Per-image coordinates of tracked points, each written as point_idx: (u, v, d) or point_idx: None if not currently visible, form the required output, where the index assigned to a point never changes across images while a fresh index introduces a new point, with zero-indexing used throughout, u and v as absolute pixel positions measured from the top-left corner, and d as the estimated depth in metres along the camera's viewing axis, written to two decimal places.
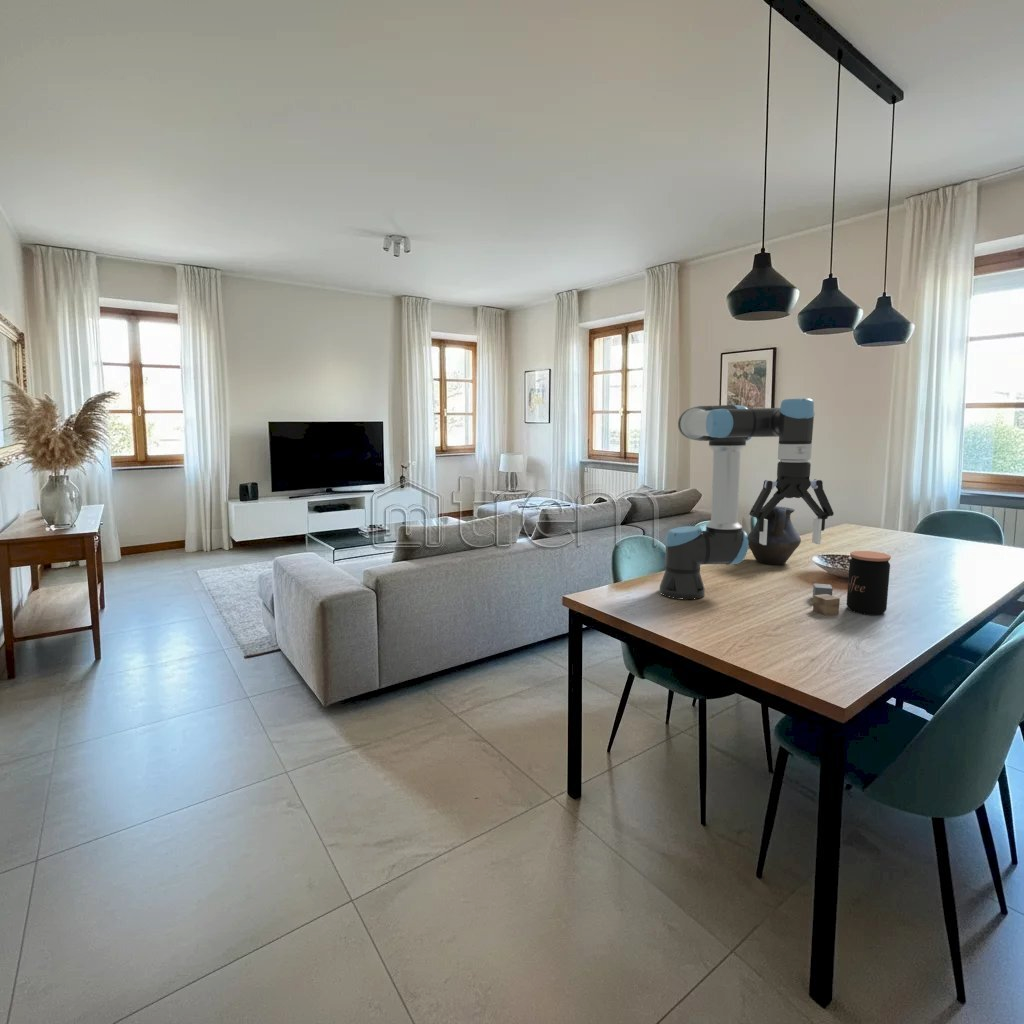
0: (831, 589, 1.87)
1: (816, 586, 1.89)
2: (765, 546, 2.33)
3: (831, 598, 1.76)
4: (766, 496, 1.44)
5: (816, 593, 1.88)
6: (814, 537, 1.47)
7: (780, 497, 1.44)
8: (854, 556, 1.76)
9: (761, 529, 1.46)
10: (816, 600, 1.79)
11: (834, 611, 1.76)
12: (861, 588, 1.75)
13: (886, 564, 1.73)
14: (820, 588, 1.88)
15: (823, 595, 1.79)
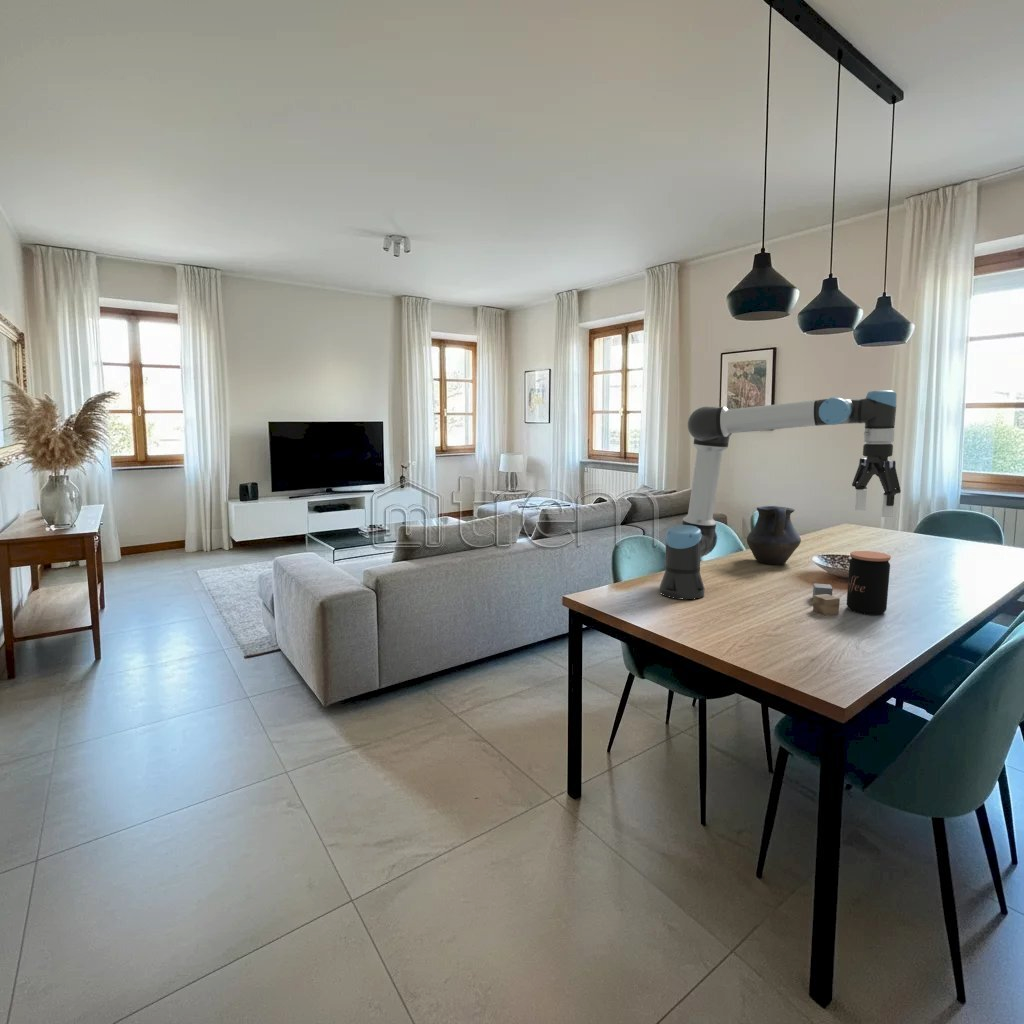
0: (831, 589, 1.87)
1: (816, 586, 1.89)
2: (765, 546, 2.33)
3: (831, 598, 1.76)
4: (858, 470, 1.79)
5: (816, 593, 1.88)
6: None
7: (863, 472, 1.76)
8: (854, 556, 1.76)
9: None
10: (816, 600, 1.79)
11: (834, 611, 1.76)
12: (862, 588, 1.75)
13: (886, 564, 1.73)
14: (820, 588, 1.88)
15: (823, 595, 1.79)
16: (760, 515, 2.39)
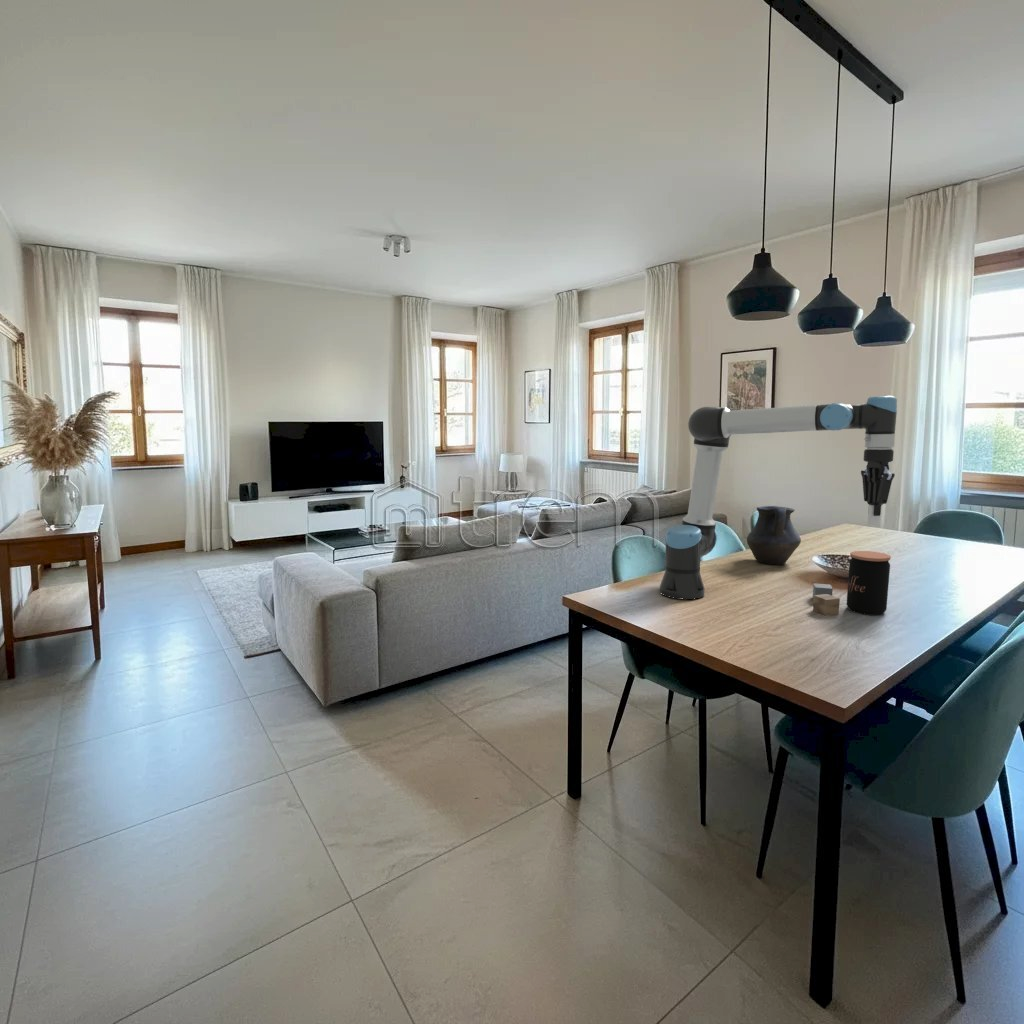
0: (831, 589, 1.87)
1: (816, 586, 1.89)
2: (765, 546, 2.33)
3: (831, 598, 1.76)
4: (864, 482, 1.77)
5: (816, 593, 1.88)
6: None
7: (868, 481, 1.75)
8: (854, 556, 1.76)
9: None
10: (816, 600, 1.79)
11: (834, 611, 1.76)
12: (861, 588, 1.75)
13: (886, 564, 1.73)
14: (820, 588, 1.88)
15: (823, 595, 1.79)
16: (760, 515, 2.39)
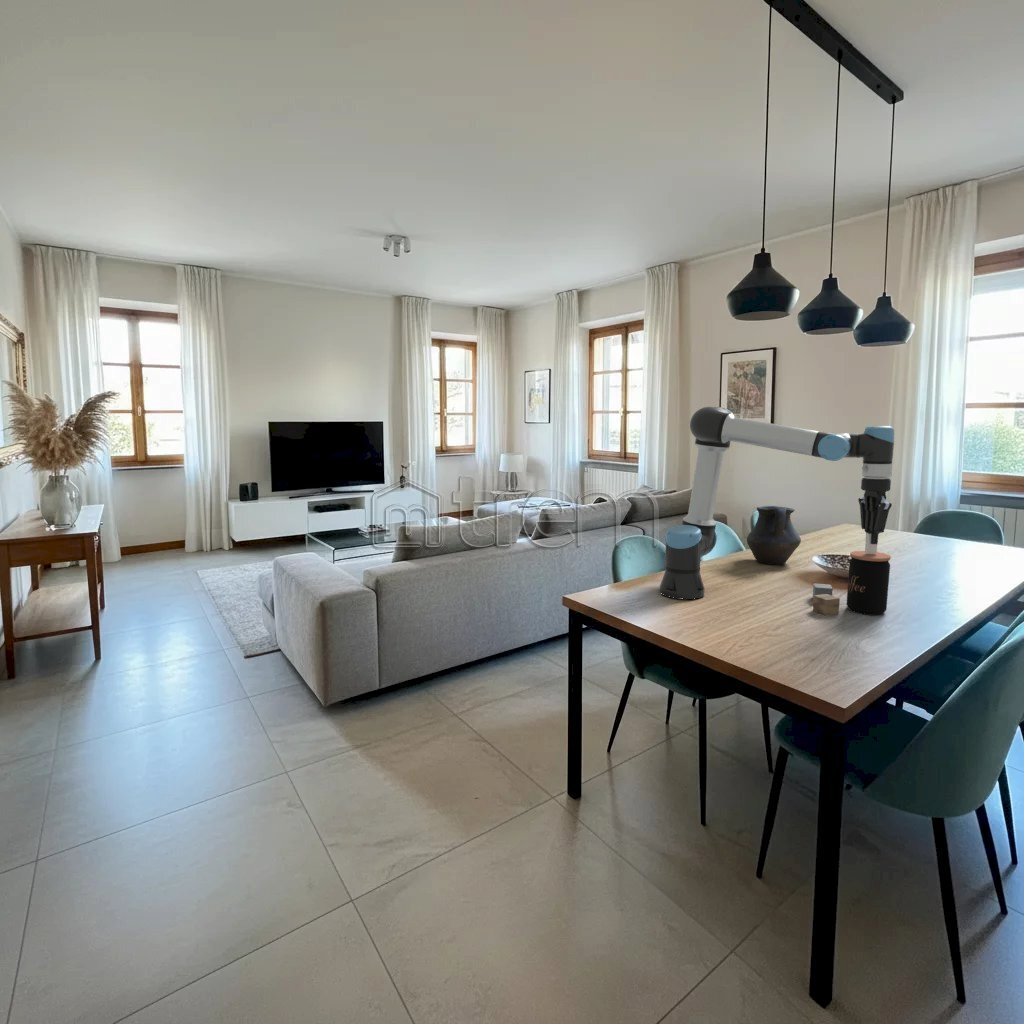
0: (831, 589, 1.87)
1: (816, 586, 1.89)
2: (765, 546, 2.33)
3: (831, 598, 1.76)
4: (861, 510, 1.79)
5: (816, 593, 1.88)
6: None
7: (865, 509, 1.76)
8: (854, 556, 1.76)
9: None
10: (816, 600, 1.79)
11: (834, 611, 1.76)
12: (861, 588, 1.75)
13: (886, 564, 1.73)
14: (820, 588, 1.88)
15: (823, 595, 1.79)
16: (760, 515, 2.39)
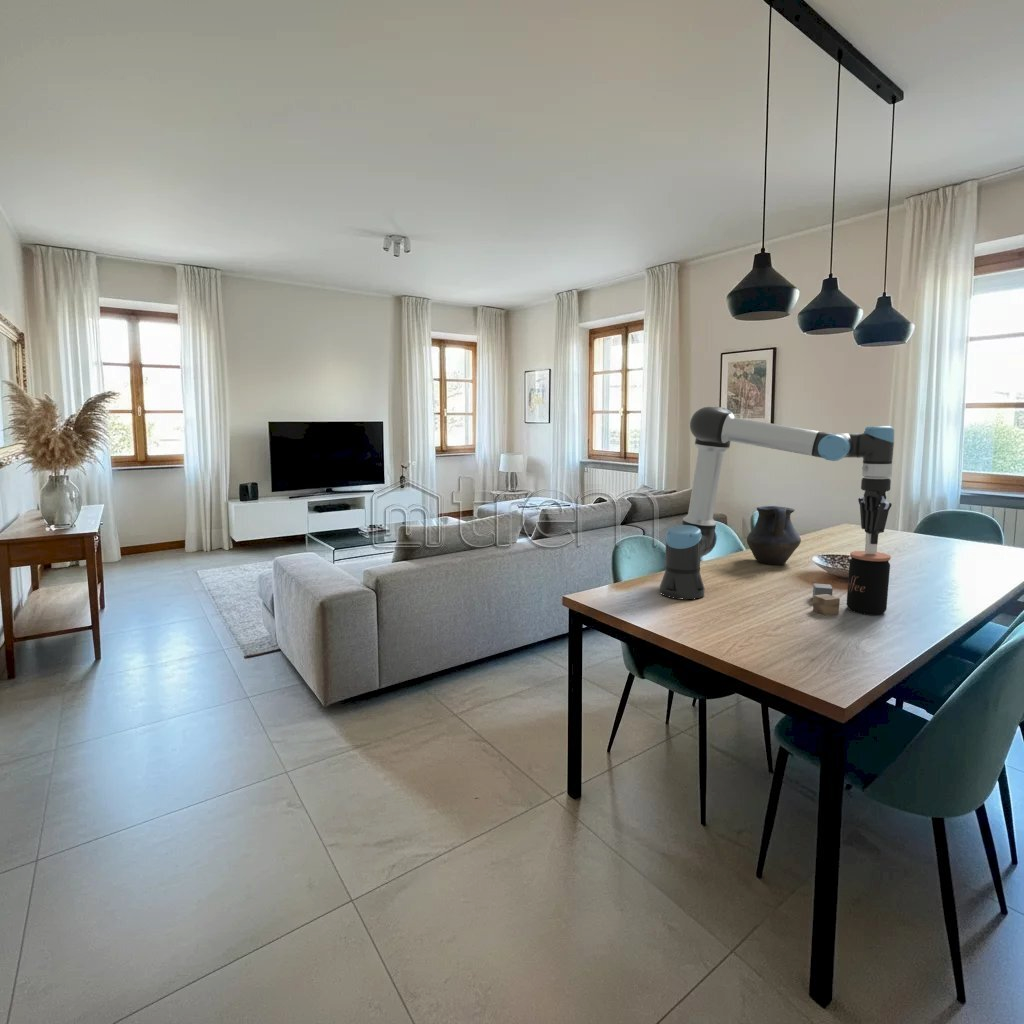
0: (831, 589, 1.87)
1: (816, 586, 1.89)
2: (765, 546, 2.33)
3: (831, 598, 1.76)
4: (861, 510, 1.79)
5: (816, 593, 1.88)
6: None
7: (865, 509, 1.76)
8: (854, 556, 1.76)
9: None
10: (816, 600, 1.79)
11: (834, 611, 1.76)
12: (861, 588, 1.75)
13: (886, 564, 1.73)
14: (820, 588, 1.88)
15: (823, 595, 1.79)
16: (760, 515, 2.39)
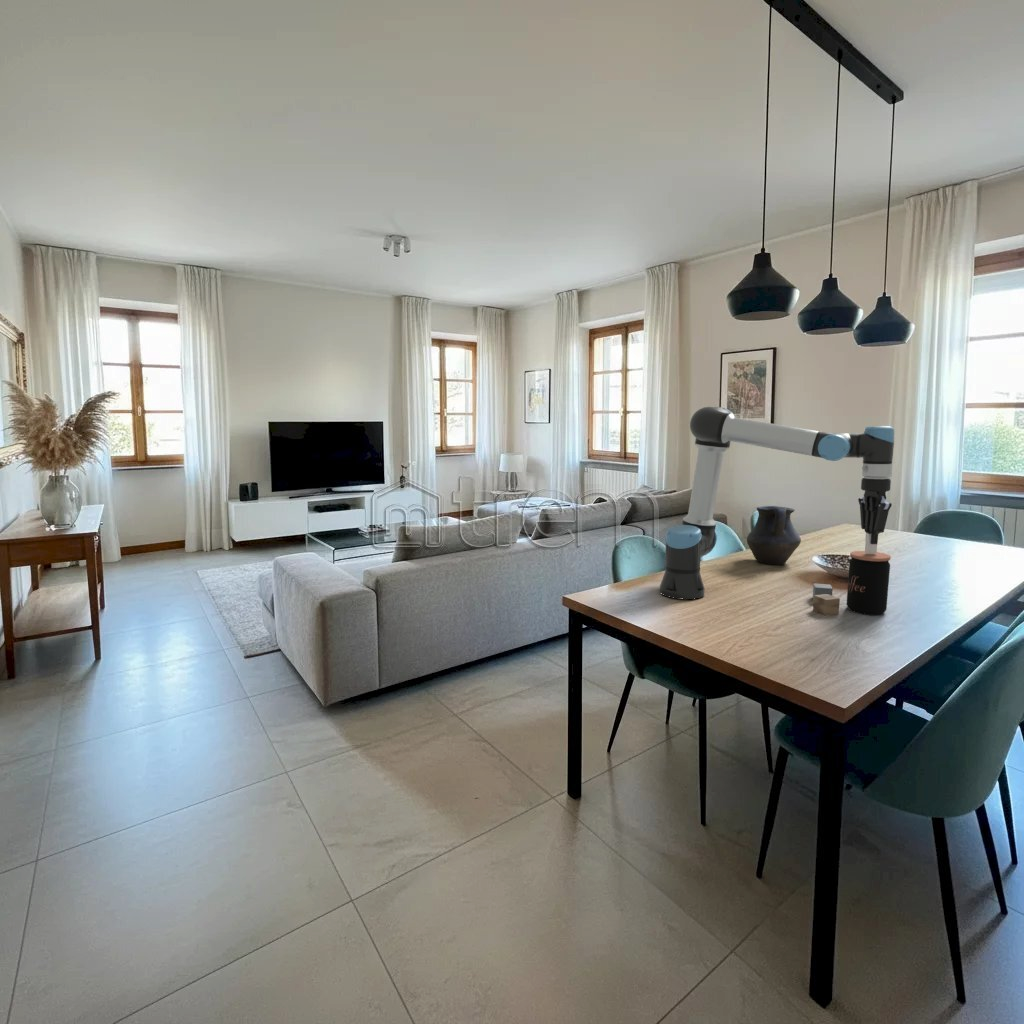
0: (831, 589, 1.87)
1: (816, 586, 1.89)
2: (765, 546, 2.33)
3: (831, 598, 1.76)
4: (861, 510, 1.79)
5: (816, 593, 1.88)
6: None
7: (865, 509, 1.76)
8: (854, 556, 1.76)
9: None
10: (816, 600, 1.79)
11: (834, 611, 1.76)
12: (861, 588, 1.75)
13: (886, 564, 1.73)
14: (820, 588, 1.88)
15: (823, 595, 1.79)
16: (760, 515, 2.39)
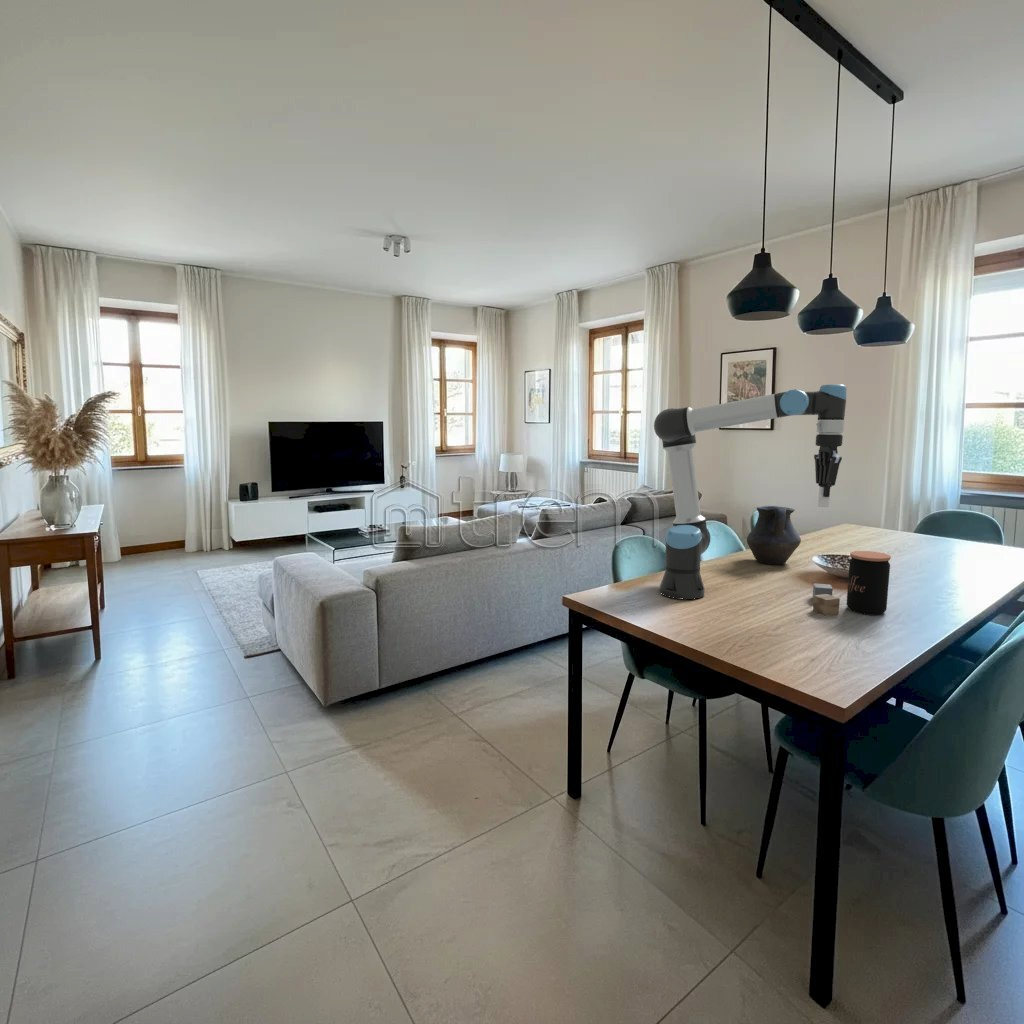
0: (831, 589, 1.87)
1: (816, 586, 1.89)
2: (765, 546, 2.33)
3: (831, 598, 1.76)
4: (816, 465, 1.89)
5: (816, 593, 1.88)
6: None
7: (819, 464, 1.86)
8: (854, 556, 1.76)
9: None
10: (816, 600, 1.79)
11: (834, 611, 1.76)
12: (861, 588, 1.75)
13: (886, 564, 1.73)
14: (820, 588, 1.88)
15: (823, 595, 1.79)
16: (760, 515, 2.39)
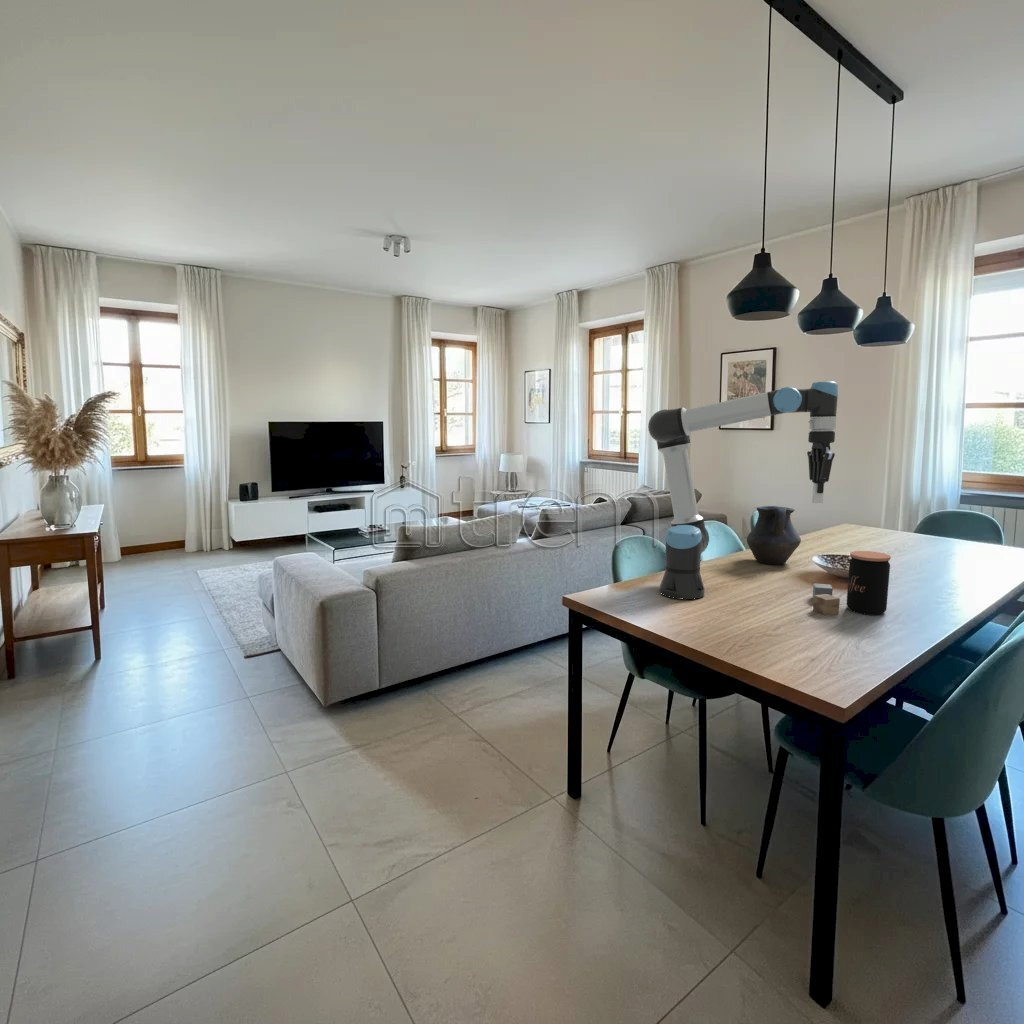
0: (831, 589, 1.87)
1: (816, 586, 1.89)
2: (765, 546, 2.33)
3: (831, 598, 1.76)
4: (809, 462, 1.91)
5: (816, 593, 1.88)
6: None
7: (812, 461, 1.88)
8: (854, 556, 1.76)
9: None
10: (816, 600, 1.79)
11: (834, 611, 1.76)
12: (861, 588, 1.75)
13: (886, 564, 1.73)
14: (820, 588, 1.88)
15: (823, 595, 1.79)
16: (760, 515, 2.39)
